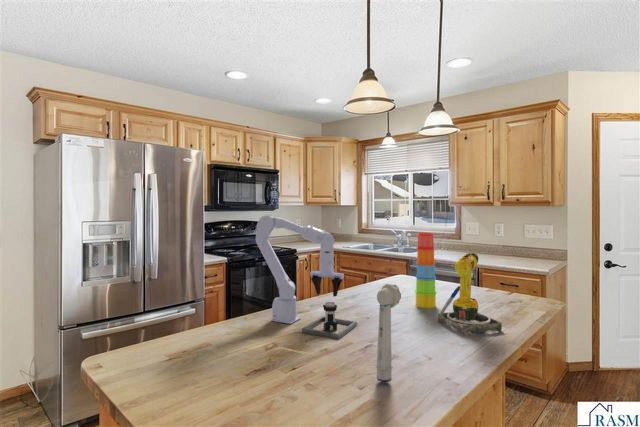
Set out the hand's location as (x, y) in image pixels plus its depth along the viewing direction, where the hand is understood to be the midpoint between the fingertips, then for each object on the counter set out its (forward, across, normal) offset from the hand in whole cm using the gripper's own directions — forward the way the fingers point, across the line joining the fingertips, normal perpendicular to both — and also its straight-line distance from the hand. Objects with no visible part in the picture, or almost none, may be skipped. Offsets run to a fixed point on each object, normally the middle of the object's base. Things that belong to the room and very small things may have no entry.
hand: (326, 295), depth 147 cm
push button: (+11, +6, -10) cm, 16 cm away
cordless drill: (+11, +53, +20) cm, 57 cm away
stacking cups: (+11, +32, +39) cm, 52 cm away
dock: (+10, +6, -9) cm, 15 cm away
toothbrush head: (+11, +37, -38) cm, 54 cm away
